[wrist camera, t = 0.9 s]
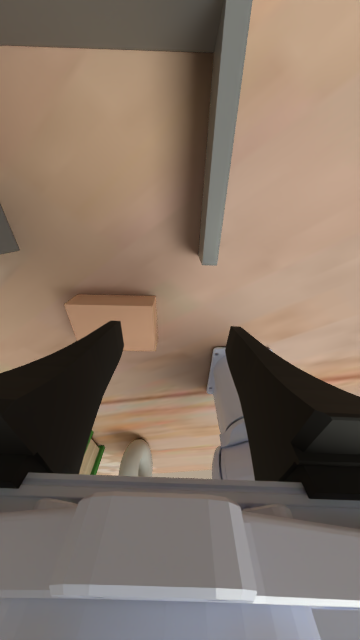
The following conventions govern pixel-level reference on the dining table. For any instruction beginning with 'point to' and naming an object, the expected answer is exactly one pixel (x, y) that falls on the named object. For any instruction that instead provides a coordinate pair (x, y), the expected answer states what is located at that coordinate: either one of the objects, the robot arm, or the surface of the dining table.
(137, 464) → the donut
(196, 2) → the box
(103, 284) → the dining table surface
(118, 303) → the tan flat block
